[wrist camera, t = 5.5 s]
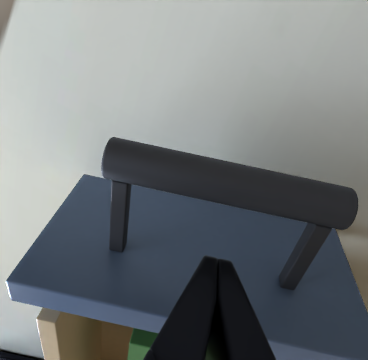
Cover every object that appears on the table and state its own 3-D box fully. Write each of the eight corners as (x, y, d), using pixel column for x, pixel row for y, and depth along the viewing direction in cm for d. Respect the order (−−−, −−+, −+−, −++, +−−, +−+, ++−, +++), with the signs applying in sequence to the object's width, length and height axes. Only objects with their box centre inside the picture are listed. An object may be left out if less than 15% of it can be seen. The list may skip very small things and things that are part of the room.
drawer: (80, 81, 13) (-30, 162, 8) (387, 146, 13) (499, 277, 8) (88, 346, 27) (50, 444, 21) (239, 380, 27) (241, 488, 21)
